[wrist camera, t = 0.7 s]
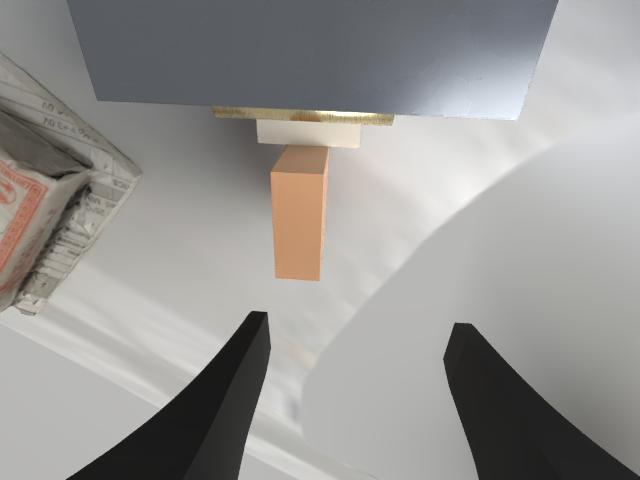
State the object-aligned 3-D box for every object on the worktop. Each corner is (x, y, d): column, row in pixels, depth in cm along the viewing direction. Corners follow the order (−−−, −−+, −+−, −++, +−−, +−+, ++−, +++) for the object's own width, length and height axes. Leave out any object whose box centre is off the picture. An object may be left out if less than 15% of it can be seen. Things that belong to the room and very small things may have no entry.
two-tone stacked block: (379, -72, 12) (400, -148, 7) (350, 230, 18) (352, 283, 14) (248, -75, 12) (193, -150, 8) (266, 225, 18) (243, 275, 14)
